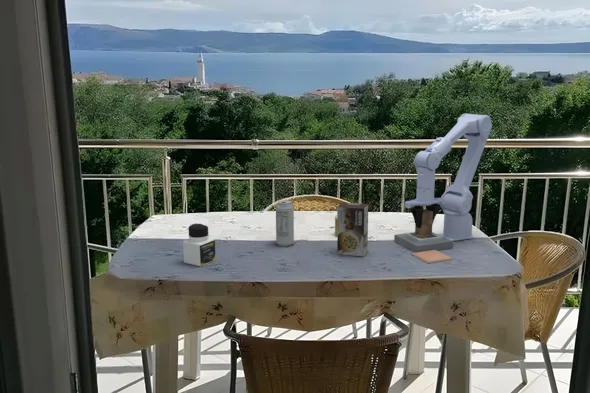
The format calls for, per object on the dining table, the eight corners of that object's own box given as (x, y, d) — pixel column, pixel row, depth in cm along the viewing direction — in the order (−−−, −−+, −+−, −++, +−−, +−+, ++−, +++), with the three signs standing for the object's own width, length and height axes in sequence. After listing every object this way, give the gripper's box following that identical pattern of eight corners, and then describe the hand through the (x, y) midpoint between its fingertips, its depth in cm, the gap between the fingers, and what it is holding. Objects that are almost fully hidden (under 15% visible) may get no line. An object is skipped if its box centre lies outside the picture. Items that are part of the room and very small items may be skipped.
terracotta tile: (434, 251, 187) (434, 249, 187) (452, 259, 179) (452, 258, 179) (411, 254, 184) (411, 253, 184) (428, 263, 176) (428, 261, 176)
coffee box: (368, 251, 188) (369, 203, 184) (363, 257, 182) (365, 208, 178) (341, 248, 191) (342, 201, 187) (336, 254, 185) (336, 206, 181)
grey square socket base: (427, 237, 203) (428, 227, 202) (452, 248, 190) (453, 238, 190) (394, 241, 198) (394, 231, 197) (417, 253, 185) (417, 243, 184)
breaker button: (424, 242, 196) (424, 235, 195) (429, 244, 193) (429, 237, 193) (416, 243, 195) (416, 236, 194) (421, 245, 192) (422, 238, 192)
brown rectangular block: (424, 231, 196) (425, 208, 194) (431, 234, 192) (432, 211, 190) (415, 232, 194) (416, 209, 193) (421, 235, 191) (422, 212, 189)
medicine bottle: (200, 267, 174) (199, 229, 171) (183, 262, 177) (181, 225, 175) (216, 260, 180) (214, 223, 177) (198, 256, 183) (197, 220, 181)
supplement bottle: (348, 237, 203) (349, 211, 200) (333, 237, 204) (334, 210, 201) (350, 233, 208) (351, 207, 206) (335, 232, 209) (336, 207, 207)
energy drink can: (297, 244, 195) (297, 201, 192) (285, 248, 191) (284, 204, 188) (284, 240, 199) (284, 199, 196) (272, 244, 195) (272, 202, 192)
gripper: (436, 183, 196) (434, 221, 199) (400, 186, 191) (399, 225, 194) (449, 187, 190) (447, 226, 193) (412, 191, 184) (410, 231, 187)
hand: (423, 226), depth 193 cm, fingers closed on brown rectangular block, 4 cm apart
